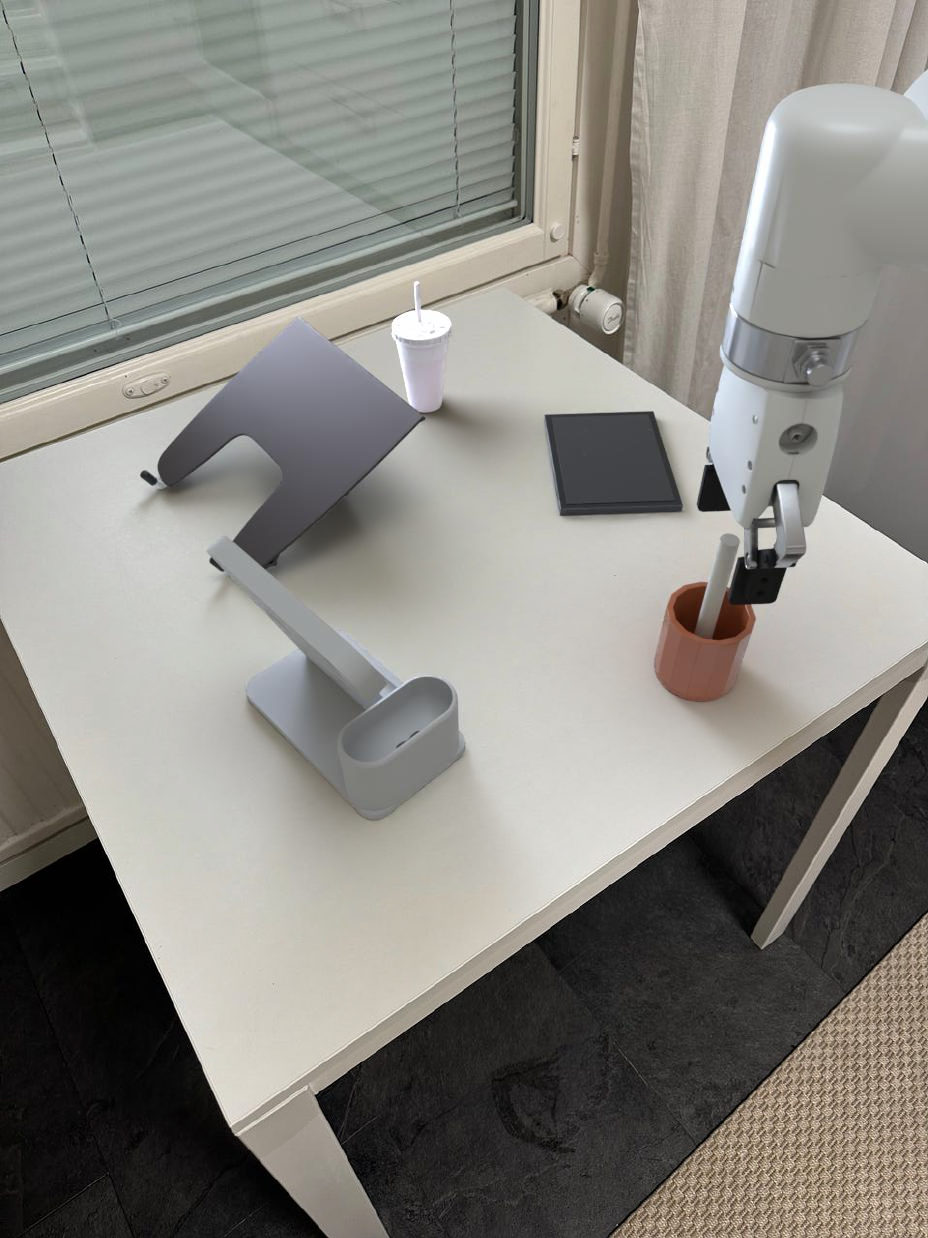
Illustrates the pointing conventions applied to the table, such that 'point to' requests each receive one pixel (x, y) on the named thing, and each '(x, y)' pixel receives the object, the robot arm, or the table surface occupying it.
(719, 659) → the pencil cup
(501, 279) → the table surface
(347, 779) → the phone holder
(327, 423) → the laptop tray
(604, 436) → the tablet
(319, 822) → the table surface
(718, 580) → the stylus
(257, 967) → the table surface
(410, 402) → the smoothie
